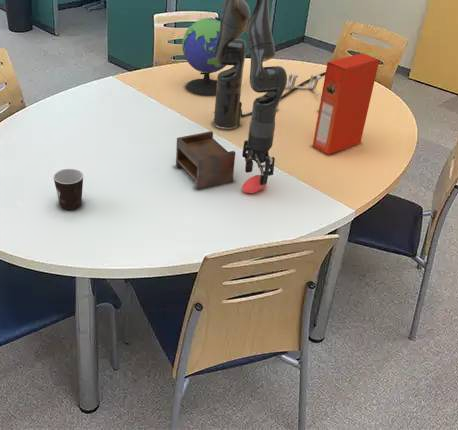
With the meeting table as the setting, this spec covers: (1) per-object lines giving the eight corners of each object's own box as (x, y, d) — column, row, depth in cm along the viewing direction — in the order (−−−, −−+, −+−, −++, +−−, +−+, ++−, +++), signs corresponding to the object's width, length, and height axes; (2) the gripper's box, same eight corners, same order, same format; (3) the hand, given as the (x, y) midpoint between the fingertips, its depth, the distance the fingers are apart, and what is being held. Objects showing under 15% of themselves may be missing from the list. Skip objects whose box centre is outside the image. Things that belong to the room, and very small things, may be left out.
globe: (182, 76, 266) (186, 9, 249) (231, 80, 264) (238, 12, 247) (177, 96, 248) (180, 24, 231) (230, 100, 246) (237, 28, 229)
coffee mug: (57, 197, 180) (54, 168, 175) (85, 196, 181) (84, 168, 175) (54, 218, 171) (51, 189, 165) (83, 218, 172) (81, 189, 166)
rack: (209, 159, 203) (211, 131, 197) (232, 181, 192) (235, 152, 185) (175, 166, 198) (176, 137, 192) (197, 190, 187) (199, 159, 180)
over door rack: (313, 86, 262) (317, 65, 256) (325, 114, 238) (330, 92, 232) (265, 84, 262) (268, 63, 256) (272, 112, 238) (276, 89, 232)
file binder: (311, 146, 214) (327, 61, 196) (343, 135, 223) (361, 52, 205) (328, 155, 209) (346, 69, 191) (360, 143, 218) (380, 59, 199)
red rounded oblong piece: (269, 196, 188) (273, 176, 187) (249, 193, 182) (252, 173, 182) (258, 194, 192) (261, 175, 191) (238, 191, 186) (241, 172, 186)
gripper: (285, 139, 172) (278, 186, 181) (259, 120, 183) (253, 165, 192) (263, 143, 170) (257, 191, 179) (238, 124, 180) (233, 169, 189)
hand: (255, 178), depth 185 cm, fingers open, 8 cm apart
